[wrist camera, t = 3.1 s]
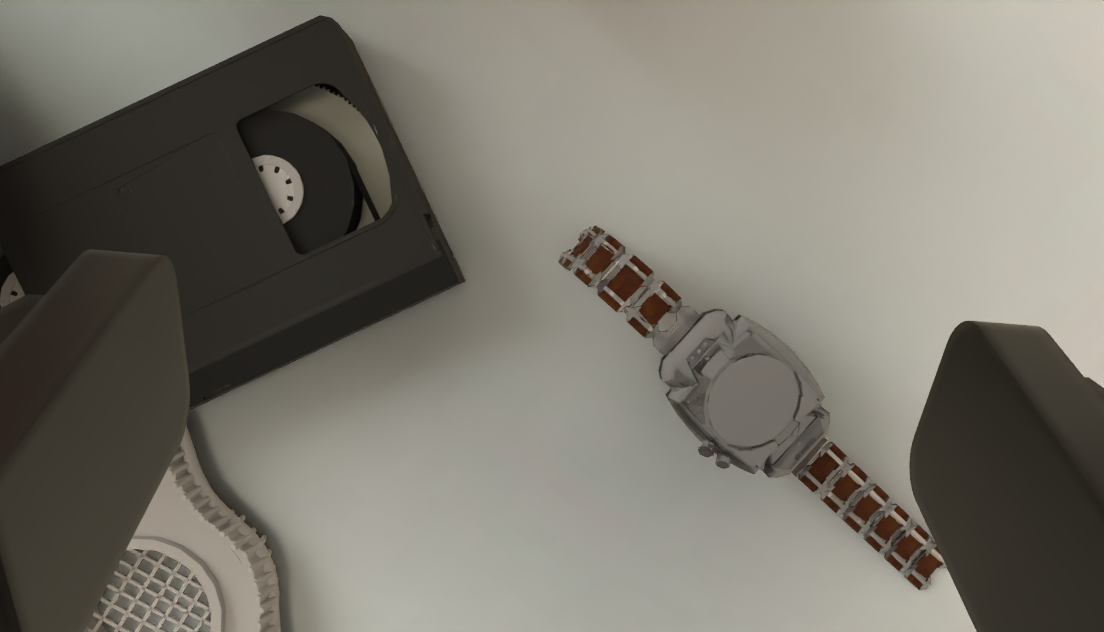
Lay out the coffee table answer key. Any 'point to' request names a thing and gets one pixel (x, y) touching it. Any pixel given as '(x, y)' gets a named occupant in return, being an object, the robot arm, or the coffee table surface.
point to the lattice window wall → (198, 558)
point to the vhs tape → (241, 206)
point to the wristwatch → (749, 399)
